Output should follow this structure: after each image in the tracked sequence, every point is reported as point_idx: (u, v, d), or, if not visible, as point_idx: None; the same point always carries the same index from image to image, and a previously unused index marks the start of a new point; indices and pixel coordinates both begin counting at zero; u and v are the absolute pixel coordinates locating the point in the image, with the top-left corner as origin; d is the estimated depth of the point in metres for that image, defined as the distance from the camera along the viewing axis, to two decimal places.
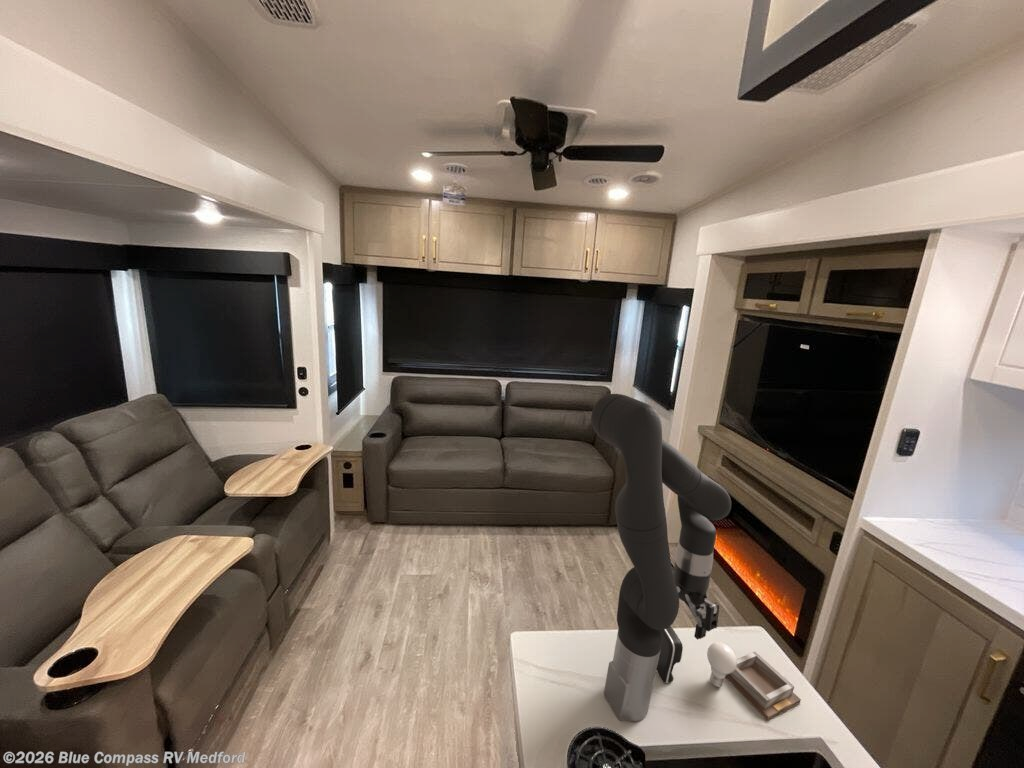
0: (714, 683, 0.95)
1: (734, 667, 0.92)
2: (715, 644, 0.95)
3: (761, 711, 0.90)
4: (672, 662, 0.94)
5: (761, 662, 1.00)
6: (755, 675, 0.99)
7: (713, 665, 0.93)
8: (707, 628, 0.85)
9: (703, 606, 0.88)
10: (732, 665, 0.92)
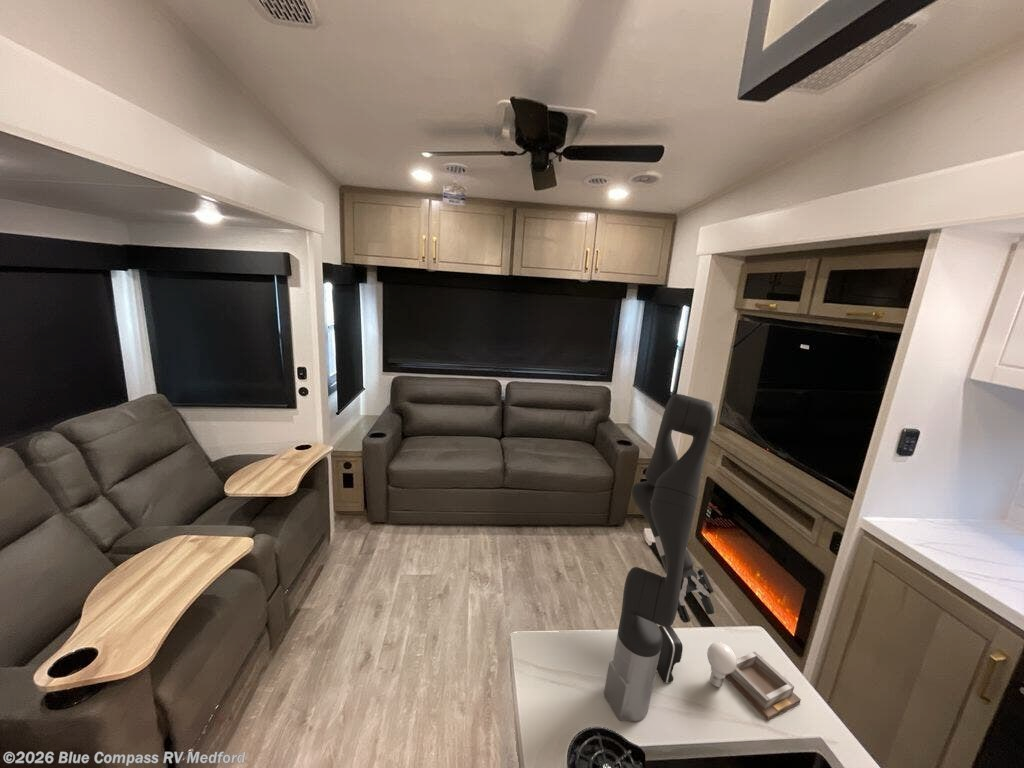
0: (714, 683, 0.95)
1: (734, 667, 0.92)
2: (715, 644, 0.95)
3: (761, 711, 0.90)
4: (672, 662, 0.94)
5: (761, 662, 1.00)
6: (755, 675, 0.99)
7: (713, 665, 0.93)
8: (711, 589, 1.05)
9: None
10: (732, 665, 0.92)
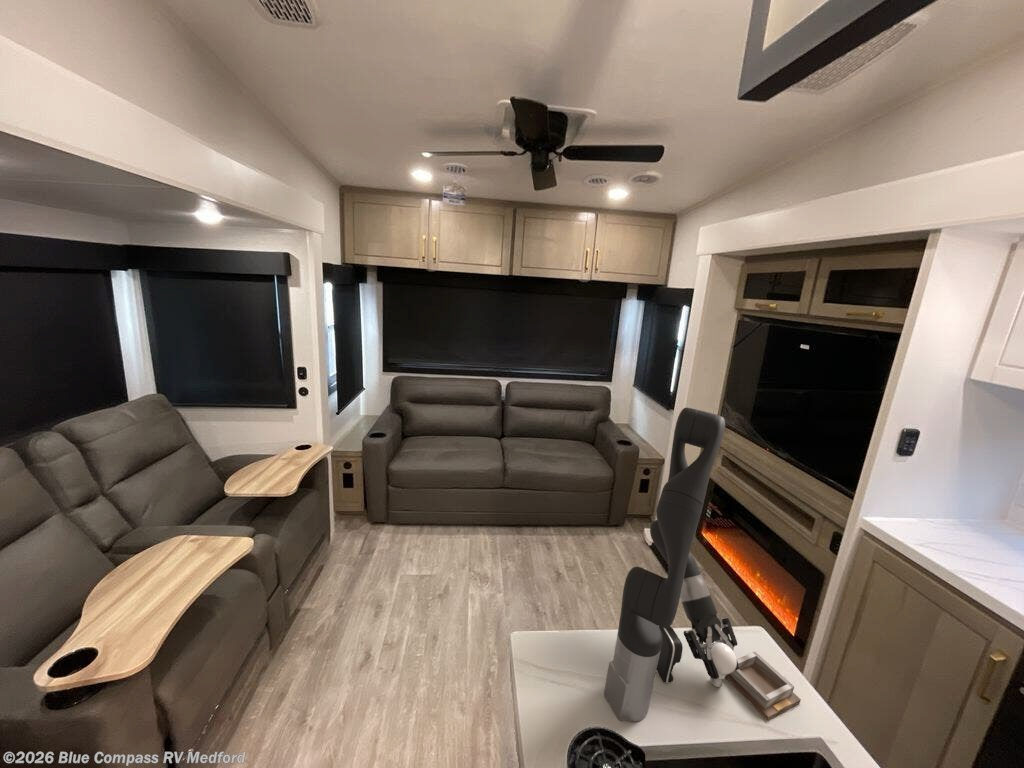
0: (715, 683, 0.95)
1: (734, 667, 0.92)
2: (715, 644, 0.95)
3: (761, 711, 0.90)
4: (672, 662, 0.94)
5: (761, 662, 1.00)
6: (755, 675, 0.99)
7: None
8: (735, 642, 0.98)
9: None
10: (732, 665, 0.92)
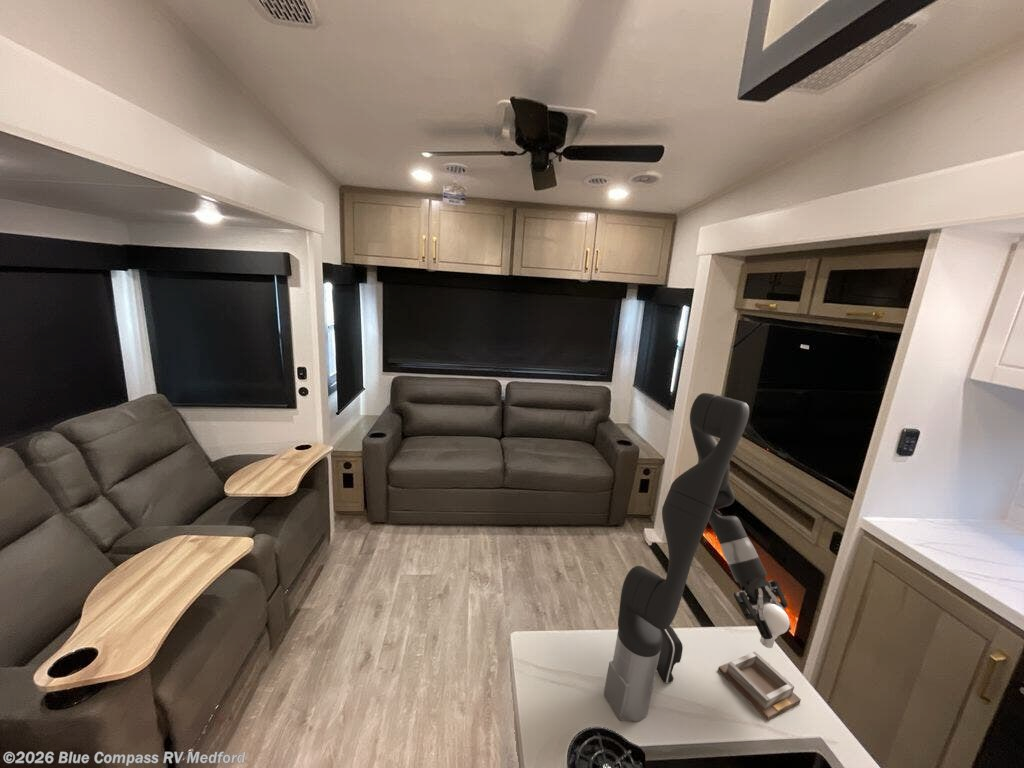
0: (766, 645, 0.94)
1: (788, 627, 0.91)
2: (766, 605, 0.94)
3: (761, 711, 0.90)
4: (672, 662, 0.94)
5: (761, 662, 1.00)
6: (755, 675, 0.99)
7: None
8: (786, 603, 0.96)
9: None
10: (786, 625, 0.90)
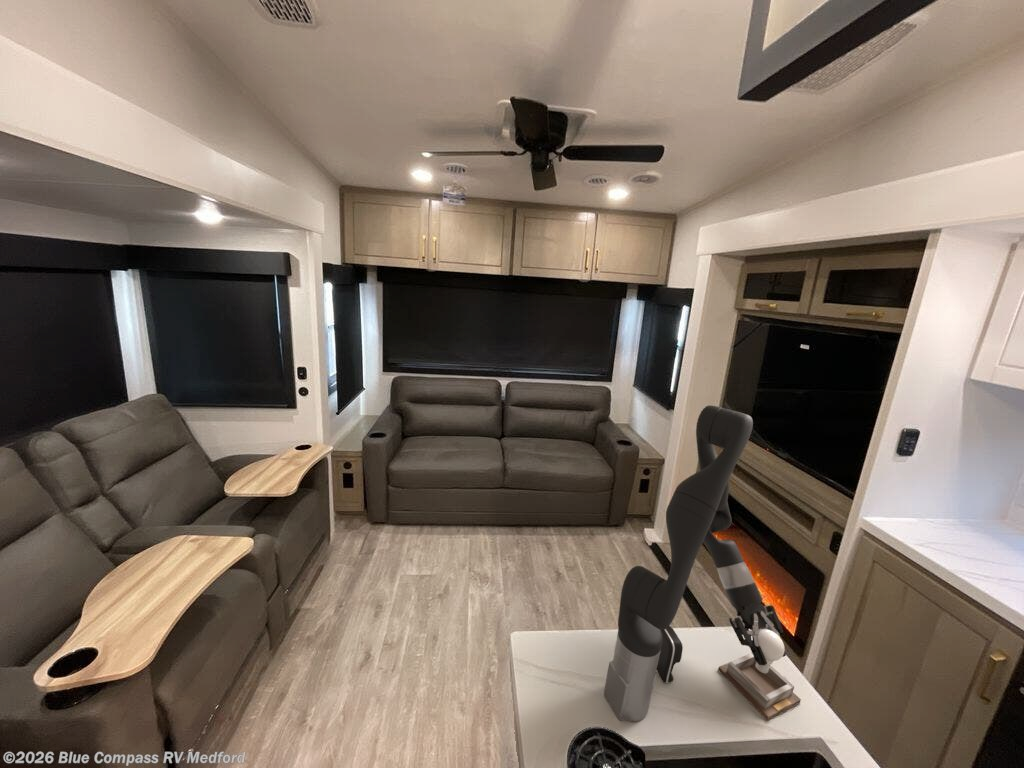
0: (761, 670, 0.95)
1: (782, 654, 0.92)
2: (761, 631, 0.95)
3: (761, 711, 0.90)
4: (672, 662, 0.94)
5: None
6: (755, 675, 0.99)
7: None
8: (781, 629, 0.97)
9: None
10: (781, 651, 0.92)
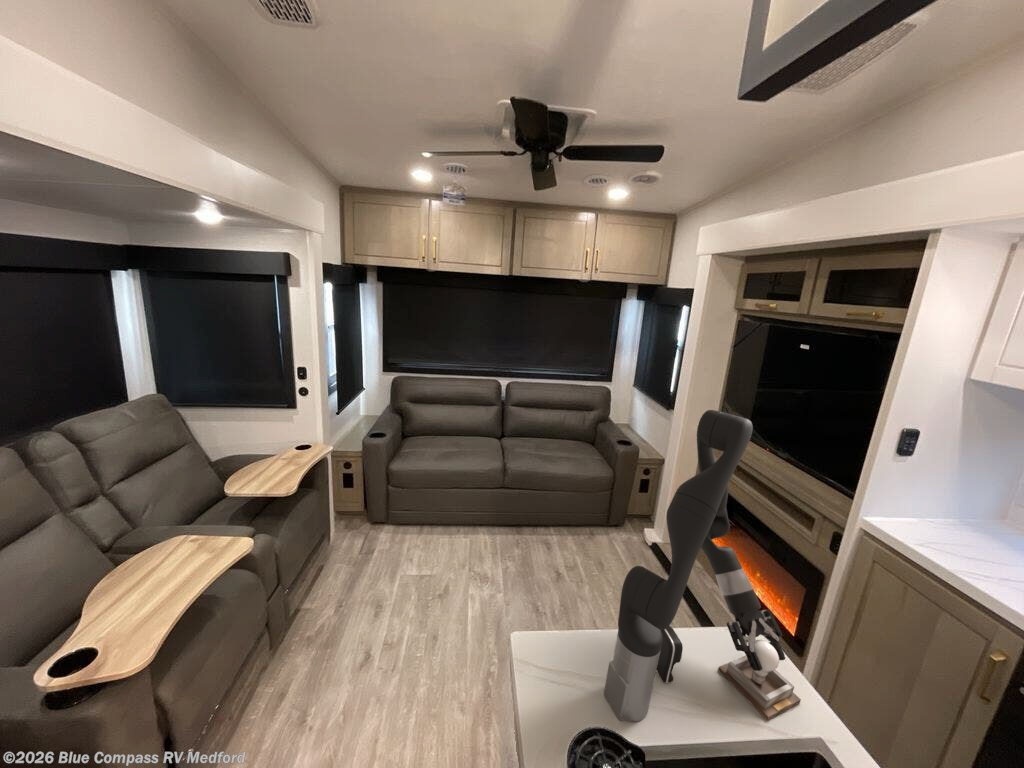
0: (757, 681, 0.96)
1: (777, 665, 0.93)
2: (756, 642, 0.96)
3: (761, 711, 0.90)
4: (672, 662, 0.94)
5: None
6: None
7: None
8: (780, 632, 0.98)
9: None
10: (775, 662, 0.92)
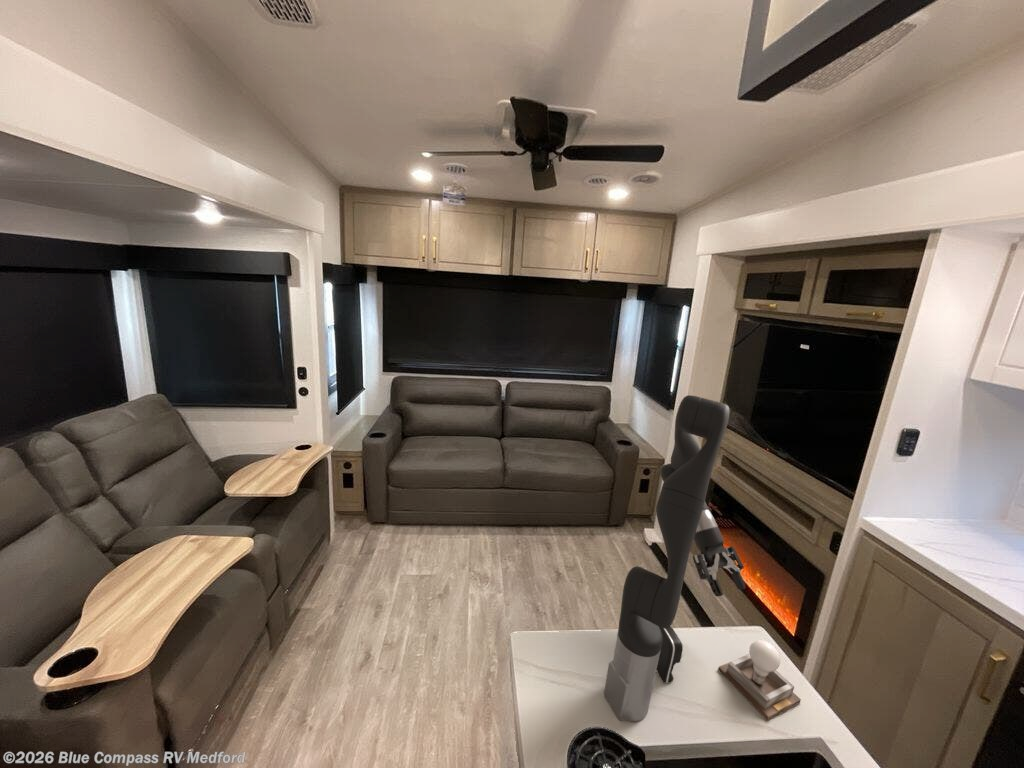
0: (757, 681, 0.96)
1: (778, 665, 0.93)
2: (758, 642, 0.96)
3: (761, 711, 0.90)
4: (672, 662, 0.94)
5: None
6: None
7: (757, 662, 0.94)
8: (742, 565, 1.08)
9: None
10: (776, 662, 0.92)
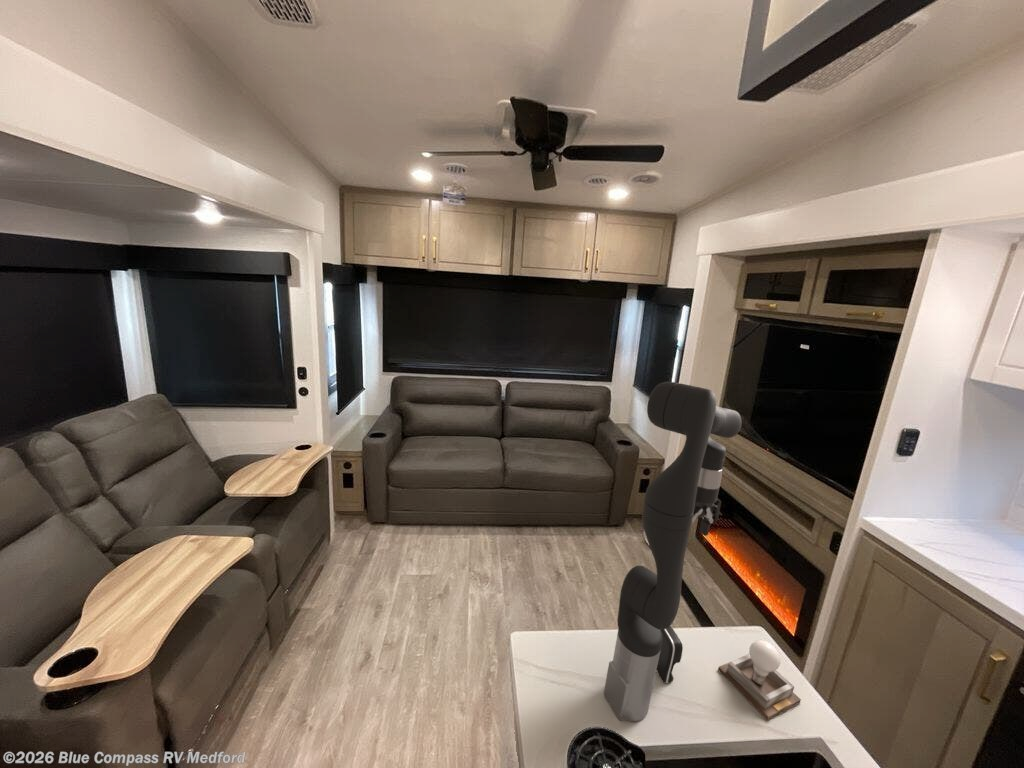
0: (757, 681, 0.96)
1: (778, 665, 0.93)
2: (758, 642, 0.96)
3: (761, 711, 0.90)
4: (672, 662, 0.94)
5: None
6: None
7: (757, 662, 0.94)
8: (717, 518, 1.06)
9: None
10: (776, 663, 0.92)
